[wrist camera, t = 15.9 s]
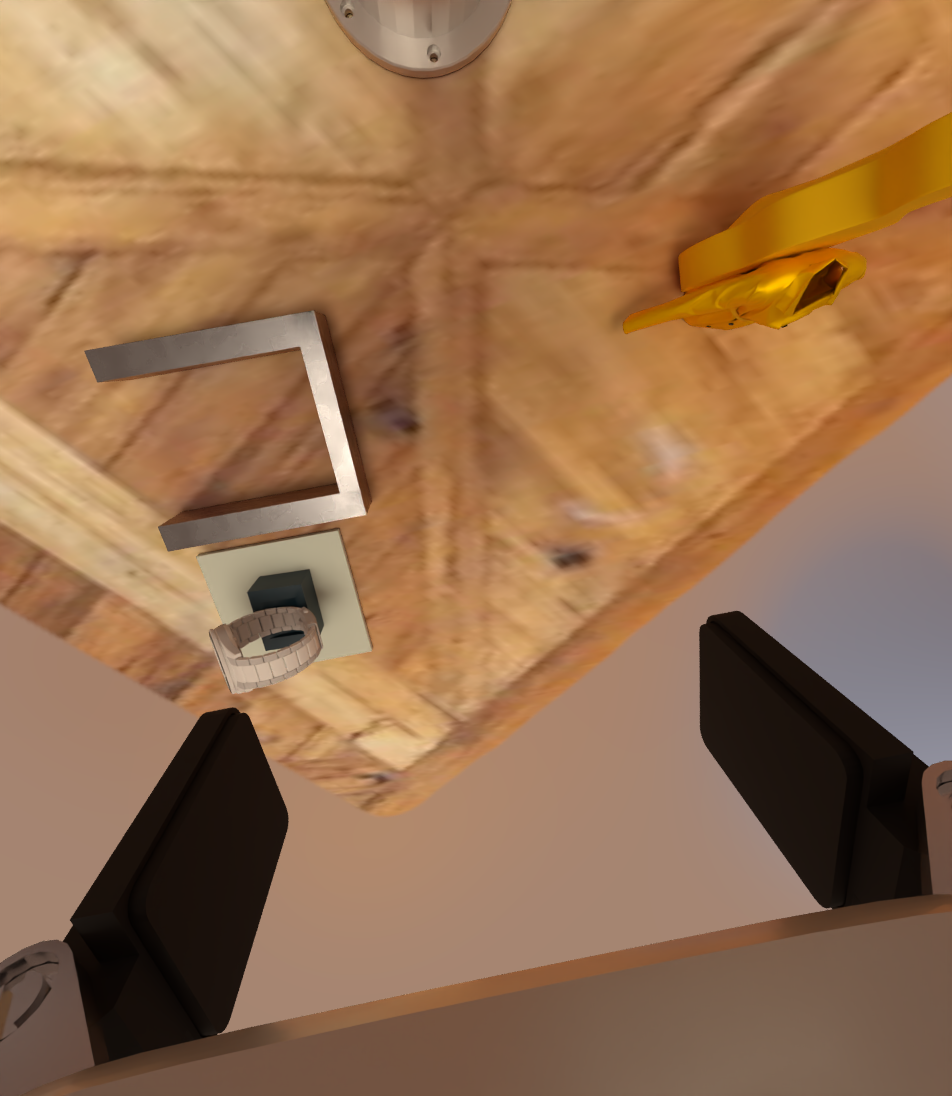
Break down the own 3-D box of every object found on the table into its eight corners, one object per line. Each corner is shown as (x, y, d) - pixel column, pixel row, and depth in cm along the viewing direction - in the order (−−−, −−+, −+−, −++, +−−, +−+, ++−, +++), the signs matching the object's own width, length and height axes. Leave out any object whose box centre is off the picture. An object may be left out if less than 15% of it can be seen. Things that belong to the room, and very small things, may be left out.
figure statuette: (610, 358, 40) (799, 358, 20) (597, 247, 37) (803, 111, 17) (827, 307, 40) (1243, 254, 20) (831, 193, 37) (1322, -9, 17)
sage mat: (199, 554, 43) (196, 556, 42) (339, 528, 43) (338, 530, 42) (245, 671, 47) (243, 675, 46) (372, 647, 47) (371, 651, 47)
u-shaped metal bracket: (119, 351, 37) (84, 350, 33) (325, 315, 37) (313, 310, 34) (191, 534, 42) (168, 551, 38) (371, 501, 42) (366, 514, 39)
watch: (236, 579, 43) (175, 648, 33) (330, 566, 43) (299, 630, 33) (254, 636, 45) (202, 717, 35) (344, 622, 45) (319, 699, 35)
